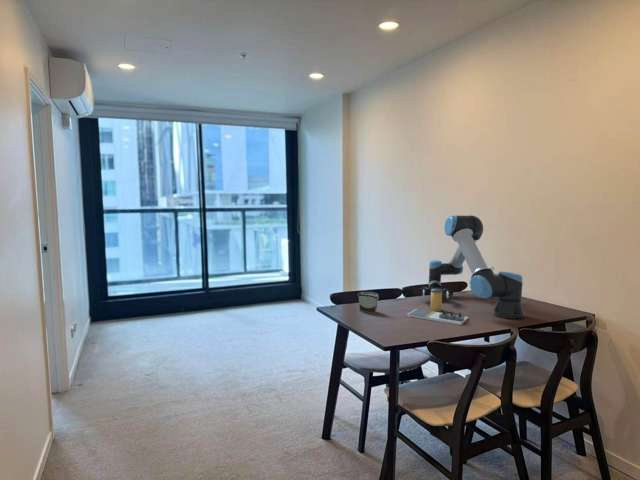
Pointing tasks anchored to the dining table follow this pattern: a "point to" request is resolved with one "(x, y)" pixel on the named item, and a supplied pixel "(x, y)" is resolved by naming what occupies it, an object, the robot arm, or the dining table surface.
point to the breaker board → (438, 316)
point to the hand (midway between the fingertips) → (435, 295)
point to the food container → (368, 301)
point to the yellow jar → (436, 299)
